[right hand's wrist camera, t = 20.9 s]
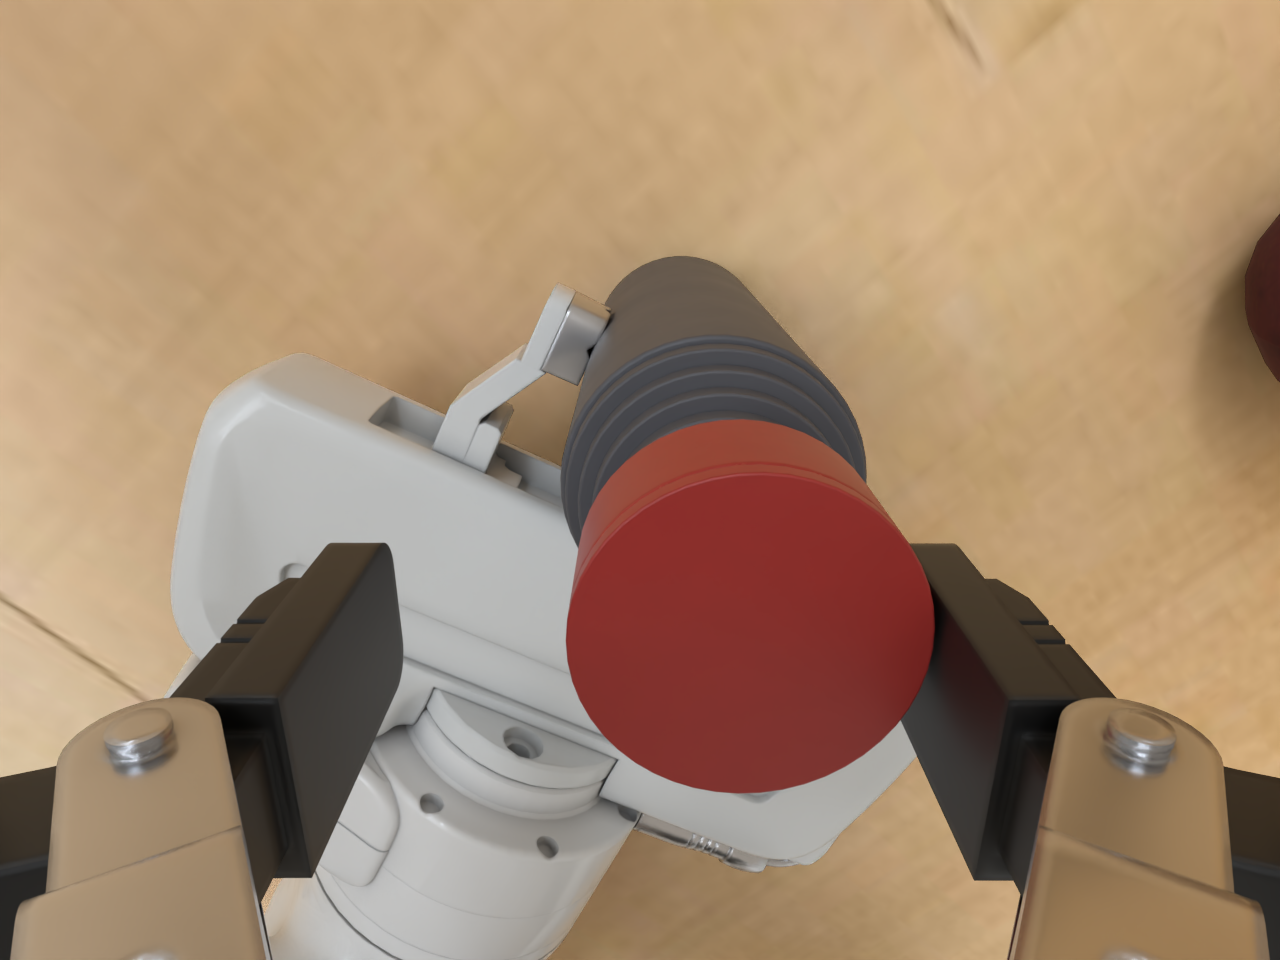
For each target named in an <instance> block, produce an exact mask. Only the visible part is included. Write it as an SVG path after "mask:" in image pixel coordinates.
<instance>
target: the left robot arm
mask: <svg viewBox="0 0 1280 960" xmlns="http://www.w3.org/2000/svg"><path fill="white" fill-rule="evenodd" d="M610 312H611V308H609V307H607V306H605V305H603V304H601V303H599V302H597V301H595V300H593V299H591V298H589V297H587V296H585V295H583V294H581V293H579V292H576V290H574V289H571V288H569V287H567V286H565V285H563V284H560V283H557V284H556V286H555V287H554V289H553V291H552V293H551V295H550V297H549V299H548V301H547V303H546V305H545V307H544V309H543V312H542V314H541V316H540V318H539V321H538V323H537V325H536V328H535V330H534V332H533V334H532V337H531V339H530V341H529V343H528V344H527V343H525V344H524V345H522V346H521V347H519V348H518V349H516V350H515V351H514V352H512V353H511V354H509V355H508V356H506V357H505V358H504V359H502V360H501V361H499V362H498V363H496V364H495V365H493V366H492V367H491V368H489V369H488V370H486V371H485V372H483V373H482V374H481V375H479V376H478V377H476V378H475V379H473V380H472V381H470V382H469V383H468V384H467V385H466V386H465V387H464V388H463V390H462V391H461V392H460V394H459V395H458V396H457V397H456V399H455V400H454V401H453V402H452V404H451V405H450V407H449V409H448V412H447V414H446V415H445V414H443V413H441V412H439V411H436V410H434V409H432V408H430V407H428V406H425V405H423V404H421V403H419V402H416V401H414V400H412V399H410V398H407V397H405V396H403V395H401V394H399V393H396V392H394V391H392V390H390V389H387V388H385V387H383V386H381V385H379V384H376V383H374V382H372V381H370V380H367V379H365V378H363V377H361V376H358V375H356V374H354V373H352V372H350V371H347V370H345V369H343V368H341V367H338V366H336V365H334V364H332V363H330V362H328V361H325V360H323V359H321V358H319V357H316V356H314V355H311V354H307V353H294V354H291V355H288V356H285V357H283V358H280V359H278V360H275V361H272V362H270V363H267V364H265V365H263V366H260V367H258V368H256V369H254V370H252V371H250V372H248V373H246V374H245V375H243V376H242V377H240V378H238V379H237V380H235V381H234V382H232V383H230V384H229V385H228V386H227V387H226V388H225V389H223V390H222V391H221V392H220V393H219V394H218V395H217V397H216V398H215V399H214V400H213V402H212V403H211V405H210V406H209V408H208V410H207V412H206V414H205V417H204V420H203V423H202V426H201V429H200V431H199V434H198V437H197V441H196V445H195V448H194V452H193V455H192V459H191V463H190V467H189V471H188V475H187V479H186V484H185V488H184V493H183V498H182V503H181V508H180V514H179V519H178V525H177V531H176V537H175V545H174V552H173V560H172V568H171V578H170V595H171V606H172V611H173V615H174V619H175V623H176V625H177V628H178V630H179V632H180V634H181V636H182V638H183V640H184V641H185V643H186V644H187V646H188V647H189V648H190V649H191V651H192V652H193V653H192V654H191V656H190V657H189V658H188V660H187V661H186V662H185V664H184V665H183V667H182V668H181V670H180V671H179V673H178V675H177V676H176V678H175V679H174V681H173V682H172V684H171V686H170V687H169V689H168V691H167V692H166V694H165V696H164V698H169V697H170V696H171V695H172V694H173V693H174V692H175V690H176V689H177V688H178V687H179V686H180V685H181V683H182V682H183V681H184V680H185V679H186V678H187V677H188V675H189V674H190V673H191V672H192V671H193V670H194V668H195V667H196V666H197V665H198V664H199V663H200V662H201V660H202V659H203V658H204V657H205V656H206V655H207V653H208V652H209V651H210V650H211V649H212V648H213V646H214V645H215V644H216V643H220V642H221V637H222V636H223V635H224V634H225V633H226V631H227V630H228V629H229V628H230V627H231V626H232V625H233V624H237V619H238V618H239V616H240V615H241V614H242V613H243V612H244V611H245V610H246V608H247V607H248V606H249V605H250V604H251V603H252V601H253V600H254V599H255V598H256V597H257V596H259V595H261V594H262V593H264V592H266V591H267V590H269V589H271V588H272V587H274V586H276V585H277V584H279V583H281V582H282V581H284V580H286V579H287V578H301V577H302V575H303V574H304V573H305V572H306V570H307V569H308V568H309V567H310V565H311V564H312V563H313V562H314V560H315V559H316V558H317V557H318V555H319V554H320V553H321V552H322V550H323V549H324V548H325V547H326V546H327V545H328V544H329V543H386V544H388V546H389V547H390V550H391V553H392V557H393V562H394V570H395V579H396V587H397V595H398V604H399V612H400V620H401V629H402V637H403V668H402V674H401V679H400V683H399V686H398V689H397V691H396V694H395V696H394V698H393V700H392V702H391V705H390V707H389V709H388V711H387V714H386V716H385V718H384V720H383V722H382V725H381V727H380V729H379V731H378V733H377V736H376V738H375V740H374V742H373V744H372V747H371V749H370V751H369V753H368V755H367V758H366V760H365V762H364V764H363V767H362V769H361V771H360V773H359V775H358V778H357V780H356V782H355V784H354V786H353V789H352V791H351V793H350V795H349V797H348V800H347V802H346V804H345V806H344V808H343V811H342V813H341V815H340V817H339V820H338V822H337V824H336V826H335V828H334V831H333V833H332V835H331V837H330V839H329V842H328V844H327V846H326V848H325V850H324V853H323V855H322V857H321V859H320V861H319V864H318V866H317V868H316V870H315V872H314V875H313V877H312V878H282V879H281V881H280V882H279V884H278V886H277V888H276V890H275V892H274V894H273V896H272V898H271V900H270V902H269V905H268V907H267V910H266V912H265V914H264V917H265V922H266V927H267V932H268V937H269V942H270V947H271V951H272V956H273V960H546V959H548V957H549V956H550V955H551V954H552V953H553V952H554V951H555V950H556V949H557V948H558V947H559V945H560V944H561V943H562V942H563V940H564V939H565V937H566V936H567V934H568V933H569V931H570V930H571V928H572V927H573V925H574V923H575V921H576V920H577V918H578V917H579V915H580V914H581V912H582V910H583V909H584V907H585V905H586V904H587V902H588V901H589V899H590V897H591V896H592V894H593V892H594V891H595V889H596V888H597V886H598V884H599V883H600V881H601V879H602V878H603V876H604V874H605V873H606V872H607V870H608V868H609V867H610V865H611V863H612V862H613V860H614V859H615V857H616V855H617V854H618V852H619V850H620V849H621V847H622V845H623V844H624V842H625V841H626V839H627V837H628V836H629V834H630V832H631V831H632V830H635V831H638V832H640V833H643V834H646V835H648V836H651V837H653V838H656V839H659V840H661V841H664V842H667V843H669V844H672V845H675V846H679V847H682V848H687V849H693V850H695V851H700V852H702V853H705V854H708V855H710V856H713V857H715V858H718V859H719V861H720V862H722V863H724V864H725V865H727V866H730V867H732V868H735V869H738V870H741V871H745V872H750V873H760V872H762V871H763V870H764V869H765V867H766V866H772V867H788V866H794V865H798V864H801V865H810V864H812V863H814V862H816V861H817V860H819V859H820V858H821V857H822V856H823V855H824V854H825V853H826V852H827V851H828V849H829V848H830V847H831V845H832V844H833V843H834V841H835V840H836V839H837V837H838V836H839V834H840V833H841V832H842V831H843V830H845V829H846V828H847V827H848V826H849V825H850V824H851V823H852V822H853V821H854V820H856V819H857V818H858V817H859V816H860V815H861V814H862V813H863V812H864V811H865V810H866V809H867V808H868V807H869V806H870V805H871V804H872V803H873V802H874V801H875V800H876V799H877V798H878V797H879V796H880V795H881V794H882V793H883V792H884V791H885V790H886V789H887V788H888V787H889V786H890V785H891V784H892V783H893V782H894V781H895V780H896V779H897V778H898V777H899V776H900V775H901V774H902V772H903V771H904V770H905V769H906V768H907V767H908V766H909V765H910V763H911V762H912V761H913V760H914V759H915V758H916V757H917V755H916V753H915V751H914V748H913V746H912V744H911V742H910V740H909V738H908V735H907V733H906V731H905V729H904V727H903V725H902V722H901V720H900V721H899V723H898V724H897V725H896V726H895V727H894V728H893V729H892V730H891V732H890V733H889V734H888V735H887V736H886V737H885V738H884V739H883V740H882V741H881V742H879V743H878V744H877V745H876V746H875V747H873V748H872V749H871V750H870V751H868V752H867V753H866V754H865V755H863V756H862V757H860V758H859V759H857V760H855V761H854V762H852V763H851V764H849V765H848V766H846V767H844V768H842V769H840V770H838V771H836V772H834V773H832V774H830V775H828V776H826V777H823V778H820V779H818V780H815V781H812V782H809V783H807V784H804V785H800V786H796V787H792V788H788V789H784V790H777V791H770V792H763V793H742V794H736V793H723V792H713V791H708V790H702V789H697V788H692V787H689V786H686V785H682V784H679V783H676V782H673V781H670V780H668V779H666V778H663V777H661V776H659V775H656V774H654V773H652V772H650V771H649V770H647V769H645V768H643V767H642V766H640V765H638V764H636V763H635V762H633V761H632V760H631V759H629V758H628V757H627V756H625V755H624V754H623V753H621V752H620V751H619V750H618V749H617V748H616V747H615V746H614V745H613V744H611V743H610V742H609V741H608V740H607V739H606V738H605V737H604V736H603V734H602V733H601V732H600V731H599V729H598V728H597V727H596V726H595V724H594V723H593V722H592V720H591V719H590V717H589V716H588V714H587V712H586V711H585V709H584V707H583V705H582V704H581V702H580V700H579V698H578V695H577V693H576V690H575V688H574V685H573V683H572V679H571V675H570V671H569V666H568V662H567V652H566V627H567V616H568V610H569V604H570V598H571V592H572V586H573V579H574V573H575V567H576V561H577V555H578V547H577V545H576V543H575V541H574V539H573V537H572V535H571V533H570V530H569V527H568V524H567V521H566V518H565V515H564V510H563V504H562V499H561V483H560V476H561V466H559V465H557V464H555V463H552V462H550V461H548V460H546V459H543V458H541V457H539V456H537V455H535V454H532V453H530V452H528V451H526V450H523V449H521V448H519V447H517V446H514V445H512V444H510V443H508V442H506V441H503V440H501V439H502V437H503V435H504V432H505V430H506V428H507V425H508V423H509V421H510V418H511V416H512V414H513V411H514V409H513V407H512V405H510V404H508V403H506V401H507V400H509V399H510V398H512V397H513V396H514V395H516V394H517V393H519V392H520V391H521V390H523V389H524V388H526V387H527V386H529V385H530V384H531V383H533V382H534V381H536V380H537V379H538V378H540V377H541V376H543V375H544V374H546V372H547V373H550V374H552V375H554V376H556V377H559V378H561V379H563V380H566V381H568V382H570V383H572V384H575V385H577V386H578V384H579V382H580V380H581V378H582V376H583V374H584V372H585V370H586V367H587V364H588V361H589V358H590V355H591V351H592V347H594V346H595V345H596V344H597V342H598V340H599V339H600V337H601V336H602V333H603V331H604V329H605V327H606V325H607V322H608V320H609V317H610Z"/></svg>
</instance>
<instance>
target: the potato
mask: <svg viewBox="0 0 1280 960" xmlns="http://www.w3.org/2000/svg"><path fill="white" fill-rule="evenodd" d="M1245 309H1246V315H1247V320H1248V325H1249V327H1250V329H1251V332H1252V334H1253V336H1254V338H1255V341H1256V343H1257V345H1258V348H1259V350H1260V352H1261V354H1262V357H1263V359H1264V361H1265V363H1266V365H1267V366H1268V367H1269V369H1270V370H1271V372H1272V373H1273V374H1274V376H1275V377H1276V379H1277V380H1278V381H1279V382H1280V214H1279V216H1278V217H1277V218H1276V219H1275V221H1274V222H1273V223H1272V224H1271V226H1270V227H1269V228H1268V230H1267V231H1266V232H1265V233H1264V235H1263V236H1262V237H1261V238H1260V240H1259V241H1258V242H1257V245H1256V247H1255V250H1254V253H1253V256H1252V258H1251V261H1250V264H1249V267H1248V269H1247V272H1246V275H1245Z"/></svg>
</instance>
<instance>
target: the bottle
mask: <svg viewBox="0 0 1280 960" xmlns="http://www.w3.org/2000/svg"><path fill="white" fill-rule="evenodd" d="M605 306H607V307H609V308H611V312H610V317H609V320H608V322H607V325H606V327H605V329H604V331H603V333H602V336H601V337H600V339H599V340H598V342H597V344H596V345H595V346H594V347H592V351H591V355H590V358H589V361H588V364H587V367H586V371H585V374H584V378H583V382H582V385H581V389H580V393H579V397H578V400H577V404H576V408H575V411H574V415H573V419H572V422H571V426H570V430H569V434H568V437H567V441H566V445H565V449H564V454H563V458H562V466H561V476H560V483H561V499H562V504H563V510H564V515H565V518H566V521H567V524H568V527H569V530H570V533H571V535H572V537H573V539H574V541H575V543H576V545H577V547H578V548H579V543H580V539H581V534H582V530H583V526H584V524H585V521H586V518H587V516H588V513H589V510H590V508H591V506H592V505H593V503H594V501H595V499H596V497H597V495H598V494H599V492H600V491H601V489H602V488H603V487H604V485H605V484H606V483H607V481H608V480H609V478H610V477H611V476H612V475H613V474H614V473H615V472H616V471H617V470H618V469H619V468H620V467H621V466H622V465H623V464H624V463H625V462H626V461H627V460H628V459H630V458H631V457H632V456H633V455H635V454H636V453H637V452H638V451H640V450H641V449H643V448H644V447H646V446H648V445H649V444H651V443H653V442H654V441H656V440H658V439H659V438H662V437H664V436H666V435H668V434H671V433H673V432H675V431H677V430H680V429H683V428H687V427H690V426H694V425H697V424H701V423H707V422H713V421H719V420H739V419H744V420H755V421H765V422H770V423H774V424H779V425H783V426H787V427H789V428H792V429H795V430H798V431H800V432H803V433H805V434H807V435H809V436H811V437H813V438H815V439H817V440H819V441H821V442H823V443H824V444H825V445H827V446H828V447H830V448H831V449H832V450H834V451H835V452H837V453H838V454H839V455H840V456H841V457H843V458H844V459H845V460H846V461H847V462H848V463H849V464H850V465H851V466H852V467H853V468H854V469H855V470H856V472H857V473H858V474H859V476H860V477H861V478H862V479H863V481H864V482H865V483H866V457H865V451H864V446H863V441H862V437H861V434H860V431H859V428H858V425H857V423H856V420H855V418H854V416H853V414H852V412H851V410H850V408H849V406H848V404H847V403H846V401H845V400H844V399H843V397H842V396H841V394H840V393H839V392H838V390H837V389H836V387H835V386H834V385H833V384H832V383H831V382H830V381H829V380H828V378H827V377H826V376H825V375H824V374H823V373H822V372H821V371H820V370H819V368H818V367H817V366H816V365H815V364H814V363H813V362H812V361H811V360H810V358H809V357H808V356H807V355H806V354H805V353H804V352H803V351H802V349H801V348H800V347H799V346H798V345H797V344H796V343H795V342H794V341H793V339H792V338H791V337H790V336H789V335H788V334H787V333H786V332H785V331H784V329H783V328H782V327H781V326H780V325H779V324H778V323H777V322H776V321H775V319H774V318H773V317H772V316H771V315H770V314H769V313H768V312H767V311H766V309H765V308H764V307H763V306H762V305H761V304H760V303H759V302H758V301H757V299H756V298H755V297H754V296H753V295H752V294H751V293H750V292H749V291H748V289H747V288H746V287H745V286H744V285H743V284H742V283H741V282H740V281H739V280H738V279H737V278H736V277H735V276H734V275H733V274H731V273H730V272H729V271H727V270H726V269H724V268H722V267H721V266H719V265H717V264H715V263H712V262H710V261H707V260H704V259H700V258H695V257H687V256H674V257H667V258H662V259H658V260H655V261H652V262H649V263H647V264H645V265H643V266H641V267H639V268H638V269H636V270H634V271H633V272H631V273H630V274H629V275H628V276H626V277H625V278H624V279H623V280H622V281H621V282H620V283H619V284H618V285H617V286H616V287H615V289H614V290H613V292H612V293H611V294H610V296H609V298H608V299H607V301H606V303H605Z"/></svg>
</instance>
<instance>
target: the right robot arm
mask: <svg viewBox="0 0 1280 960" xmlns="http://www.w3.org/2000/svg"><path fill="white" fill-rule="evenodd" d="M910 546H911V547H912V549H913V551H914V553H915V554H916V556H917V558H918V560H919V561H920V563H921V565H922V567H923V570H924V573H925V575H926V578H927V580H928V583H929V586H930V591H931V595H932V600H933V605H934V618H935V633H934V644H933V651H932V655H931V659H930V663H929V667H928V671H927V673H926V676H925V678H924V681H923V683H922V686H921V688H920V690H919V692H918V694H917V696H916V698H915V699H914V701H913V703H912V705H911V706H910V708H909V709H908V711H907V712H906V713H905V715H904V716H903V717H902V719H901V722H902V725H903V727H904V729H905V731H906V733H907V735H908V738H909V740H910V742H911V744H912V746H913V748H914V751H915V753H916V755H917V757H918V759H919V762H920V764H921V766H922V768H923V770H924V772H925V775H926V777H927V779H928V781H929V783H930V785H931V788H932V790H933V792H934V794H935V796H936V799H937V801H938V803H939V805H940V807H941V809H942V812H943V814H944V816H945V818H946V820H947V822H948V825H949V827H950V829H951V831H952V833H953V835H954V838H955V840H956V842H957V844H958V846H959V849H960V851H961V853H962V855H963V857H964V859H965V862H966V864H967V866H968V868H969V870H970V872H971V875H972V877H973V879H974V880H1014V882H1015V884H1016V886H1017V888H1018V890H1019V892H1020V894H1021V895H1020V899H1019V904H1018V908H1017V913H1016V917H1015V922H1014V927H1013V932H1012V937H1011V942H1010V947H1009V951H1008V956H1007V960H1280V778H1276V777H1271V776H1266V775H1261V774H1256V773H1251V772H1246V771H1241V770H1237V769H1232V768H1228V767H1224V766H1223V762H1222V758H1221V756H1220V754H1219V752H1218V751H1217V749H1216V748H1215V747H1214V745H1213V744H1212V743H1211V742H1210V741H1209V740H1208V739H1207V738H1206V737H1205V736H1204V735H1203V734H1202V733H1200V732H1199V731H1198V730H1196V729H1195V728H1194V727H1192V726H1191V725H1189V724H1187V723H1186V722H1184V721H1182V720H1181V719H1179V718H1177V717H1175V716H1173V715H1171V714H1169V713H1167V712H1164V711H1162V710H1159V709H1157V708H1154V707H1151V706H1148V705H1145V704H1142V703H1138V702H1133V701H1129V700H1124V699H1117V698H1116V697H1115V696H1114V695H1113V694H1112V693H1111V691H1110V690H1109V689H1108V688H1107V687H1106V686H1105V685H1104V683H1103V682H1102V681H1101V680H1100V679H1099V678H1098V677H1097V675H1096V674H1095V673H1094V672H1093V671H1092V670H1091V669H1090V667H1089V666H1088V665H1087V664H1086V663H1085V662H1084V661H1083V659H1082V658H1081V657H1080V656H1079V655H1078V654H1077V653H1076V651H1075V650H1074V649H1073V648H1072V647H1071V646H1070V645H1069V644H1065V639H1064V638H1063V637H1062V635H1061V634H1060V633H1059V632H1058V631H1057V630H1056V629H1055V627H1054V626H1053V625H1049V621H1048V619H1047V618H1046V617H1045V616H1044V615H1043V614H1042V613H1041V611H1040V610H1039V609H1038V608H1037V607H1036V606H1035V605H1034V603H1033V602H1032V601H1031V600H1030V599H1029V598H1028V597H1026V596H1024V595H1023V594H1021V593H1019V592H1018V591H1016V590H1014V589H1013V588H1011V587H1009V586H1008V585H1006V584H1004V583H1003V582H1001V581H999V580H997V579H984V577H983V576H982V575H981V574H980V573H979V571H978V570H977V569H976V568H975V566H974V565H973V564H972V563H971V561H970V560H969V559H968V558H967V557H966V555H965V554H964V553H963V552H962V550H961V549H960V548H959V547H958V546H957V545H956V544H910ZM402 668H403V637H402V629H401V620H400V612H399V604H398V595H397V587H396V579H395V570H394V562H393V557H392V553H391V550H390V547H389V546H388V544H386V543H329V544H328V545H327V546H326V547H325V548H324V549H323V550H322V552H321V553H320V554H319V555H318V557H317V558H316V559H315V560H314V562H313V563H312V564H311V565H310V567H309V568H308V569H307V570H306V572H305V573H304V574H303V575H302V577H301V578H287V579H286V580H284V581H282V582H281V583H279V584H277V585H276V586H274V587H272V588H271V589H269V590H267V591H266V592H264V593H262V594H261V595H259V596H257V597H256V598H255V599H254V600H253V601H252V603H251V604H250V605H249V606H248V607H247V608H246V610H245V611H244V612H243V613H242V614H241V615H240V616H239V618H238V619H237V624H233V625H232V626H231V627H230V628H229V629H228V630H227V631H226V633H225V634H224V635H223V636H222V637H221V642H220V643H216V644H215V645H214V646H213V648H212V649H211V650H210V651H209V652H208V653H207V655H206V656H205V657H204V658H203V659H202V660H201V662H200V663H199V664H198V665H197V666H196V667H195V668H194V670H193V671H192V672H191V673H190V674H189V675H188V677H187V678H186V679H185V680H184V681H183V682H182V683H181V685H180V686H179V687H178V688H177V689H176V690H175V692H174V693H173V694H172V695H171V696H170V697H169V698H163V699H156V700H151V701H147V702H142V703H138V704H135V705H132V706H129V707H126V708H123V709H121V710H118V711H116V712H113V713H111V714H109V715H107V716H105V717H103V718H101V719H99V720H98V721H96V722H94V723H93V724H91V725H89V726H88V727H86V728H85V729H84V730H82V731H81V732H80V733H78V734H77V735H76V736H75V737H74V738H73V739H72V740H71V741H70V742H69V743H68V744H67V745H66V747H65V748H64V749H63V751H62V752H61V754H60V756H59V758H58V762H57V766H54V767H50V768H45V769H40V770H35V771H30V772H25V773H20V774H15V775H11V776H6V777H1V778H0V960H273V956H272V951H271V947H270V942H269V937H268V932H267V927H266V922H265V917H264V913H263V908H262V904H261V901H262V899H263V897H264V895H265V893H266V891H267V889H268V887H269V885H270V883H271V881H272V879H273V878H312V877H313V875H314V872H315V870H316V868H317V866H318V864H319V861H320V859H321V857H322V855H323V853H324V850H325V848H326V846H327V844H328V842H329V839H330V837H331V835H332V833H333V831H334V828H335V826H336V824H337V822H338V820H339V817H340V815H341V813H342V811H343V808H344V806H345V804H346V802H347V800H348V797H349V795H350V793H351V791H352V789H353V786H354V784H355V782H356V780H357V778H358V775H359V773H360V771H361V769H362V767H363V764H364V762H365V760H366V758H367V755H368V753H369V751H370V749H371V747H372V744H373V742H374V740H375V738H376V736H377V733H378V731H379V729H380V727H381V725H382V722H383V720H384V718H385V716H386V714H387V711H388V709H389V707H390V705H391V702H392V700H393V698H394V696H395V694H396V691H397V689H398V686H399V683H400V679H401V674H402Z"/></svg>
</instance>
